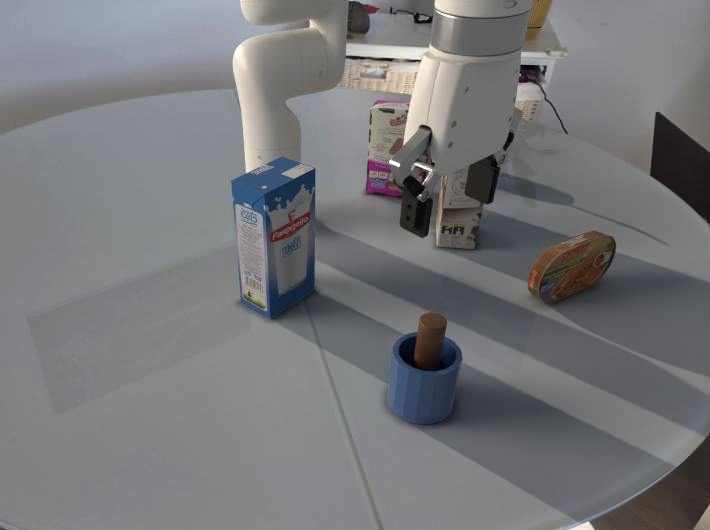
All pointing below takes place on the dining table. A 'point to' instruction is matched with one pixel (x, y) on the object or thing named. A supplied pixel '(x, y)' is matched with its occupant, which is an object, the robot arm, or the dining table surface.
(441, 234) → the coffee box
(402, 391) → the cup
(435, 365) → the dowel
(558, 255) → the tin
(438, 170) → the robot arm
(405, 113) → the candy bar box
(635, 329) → the dining table surface
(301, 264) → the milk carton
